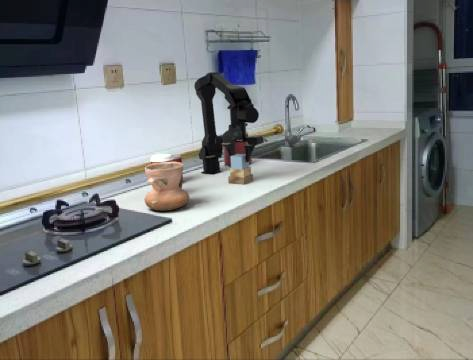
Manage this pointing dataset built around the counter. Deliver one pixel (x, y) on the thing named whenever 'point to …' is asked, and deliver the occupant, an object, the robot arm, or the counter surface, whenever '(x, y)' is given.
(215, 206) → the counter surface
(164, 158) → the coffee cup
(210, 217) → the counter surface
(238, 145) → the canister
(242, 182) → the tower base
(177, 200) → the ceramic jug
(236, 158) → the block
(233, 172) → the tower mid
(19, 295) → the counter surface
